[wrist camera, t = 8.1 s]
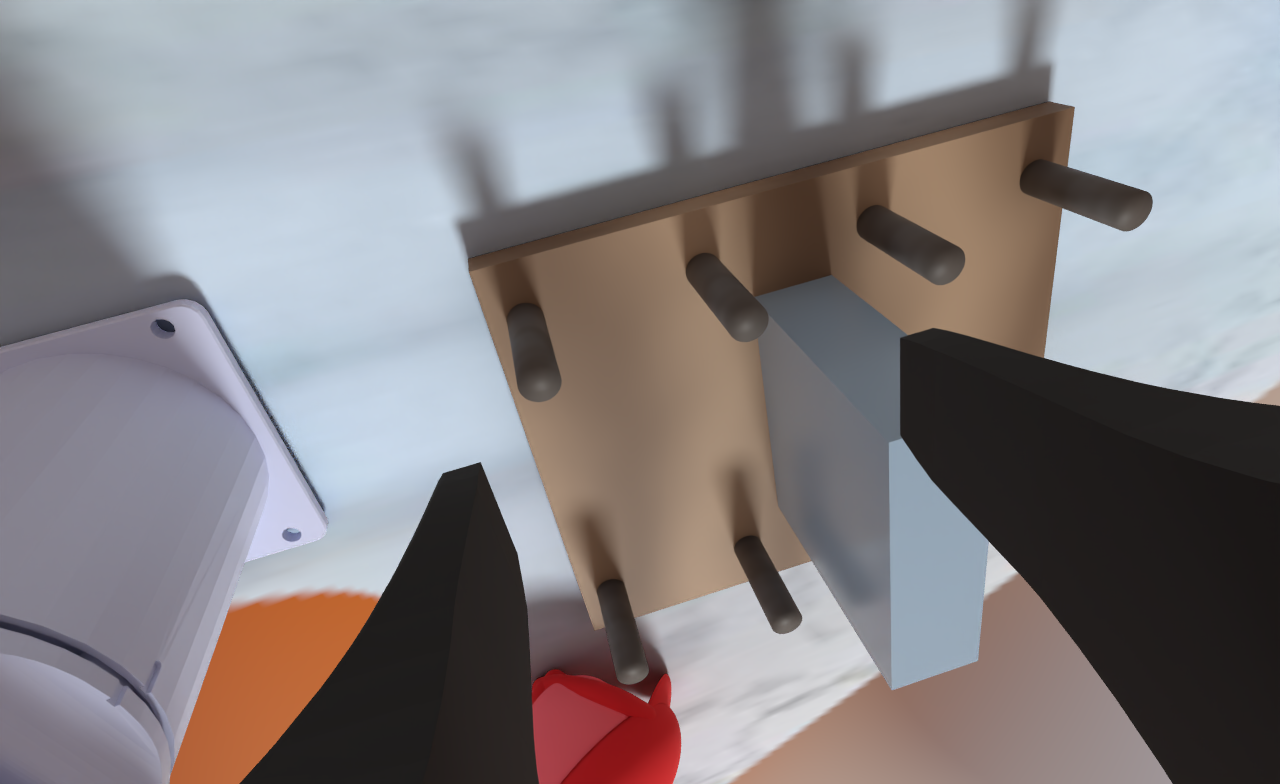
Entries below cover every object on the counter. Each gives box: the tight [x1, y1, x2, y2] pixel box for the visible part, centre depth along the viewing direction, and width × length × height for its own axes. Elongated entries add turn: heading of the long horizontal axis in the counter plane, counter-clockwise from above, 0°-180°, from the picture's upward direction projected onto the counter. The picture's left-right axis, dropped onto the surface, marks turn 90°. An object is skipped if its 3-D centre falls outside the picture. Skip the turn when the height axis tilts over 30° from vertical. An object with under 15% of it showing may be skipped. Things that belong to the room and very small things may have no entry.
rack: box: [468, 102, 1153, 684], centre depth 22 cm, size 17×14×4 cm
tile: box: [755, 275, 989, 690], centre depth 19 cm, size 2×8×8 cm, turn 12°
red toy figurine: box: [532, 669, 681, 784], centre depth 27 cm, size 8×6×6 cm
